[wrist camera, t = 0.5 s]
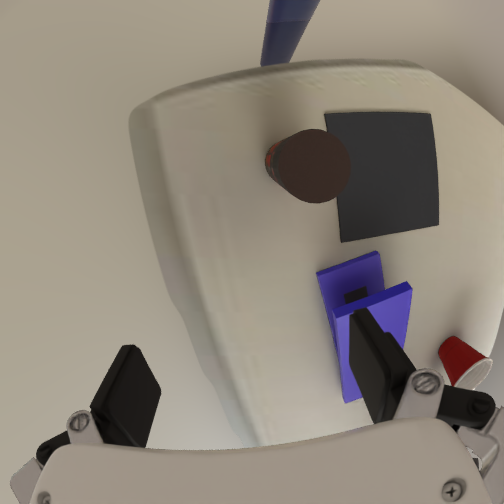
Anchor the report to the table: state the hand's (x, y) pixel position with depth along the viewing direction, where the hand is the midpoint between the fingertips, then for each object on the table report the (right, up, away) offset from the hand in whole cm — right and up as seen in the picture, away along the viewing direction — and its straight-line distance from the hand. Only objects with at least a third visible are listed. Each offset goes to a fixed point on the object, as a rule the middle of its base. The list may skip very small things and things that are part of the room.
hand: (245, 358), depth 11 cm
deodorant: (+5, +16, +24) cm, 29 cm away
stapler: (+19, -9, +33) cm, 39 cm away
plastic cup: (+44, -17, +36) cm, 59 cm away
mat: (+20, +16, +24) cm, 35 cm away
